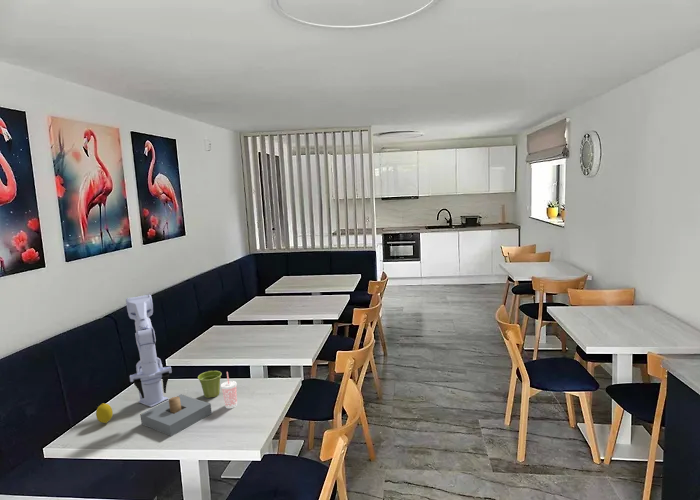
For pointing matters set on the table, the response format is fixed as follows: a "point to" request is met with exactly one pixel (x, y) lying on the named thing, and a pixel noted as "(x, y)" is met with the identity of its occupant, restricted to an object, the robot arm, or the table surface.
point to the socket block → (176, 415)
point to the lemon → (104, 413)
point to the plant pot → (210, 383)
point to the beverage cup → (229, 393)
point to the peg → (175, 404)
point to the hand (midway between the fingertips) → (154, 394)
